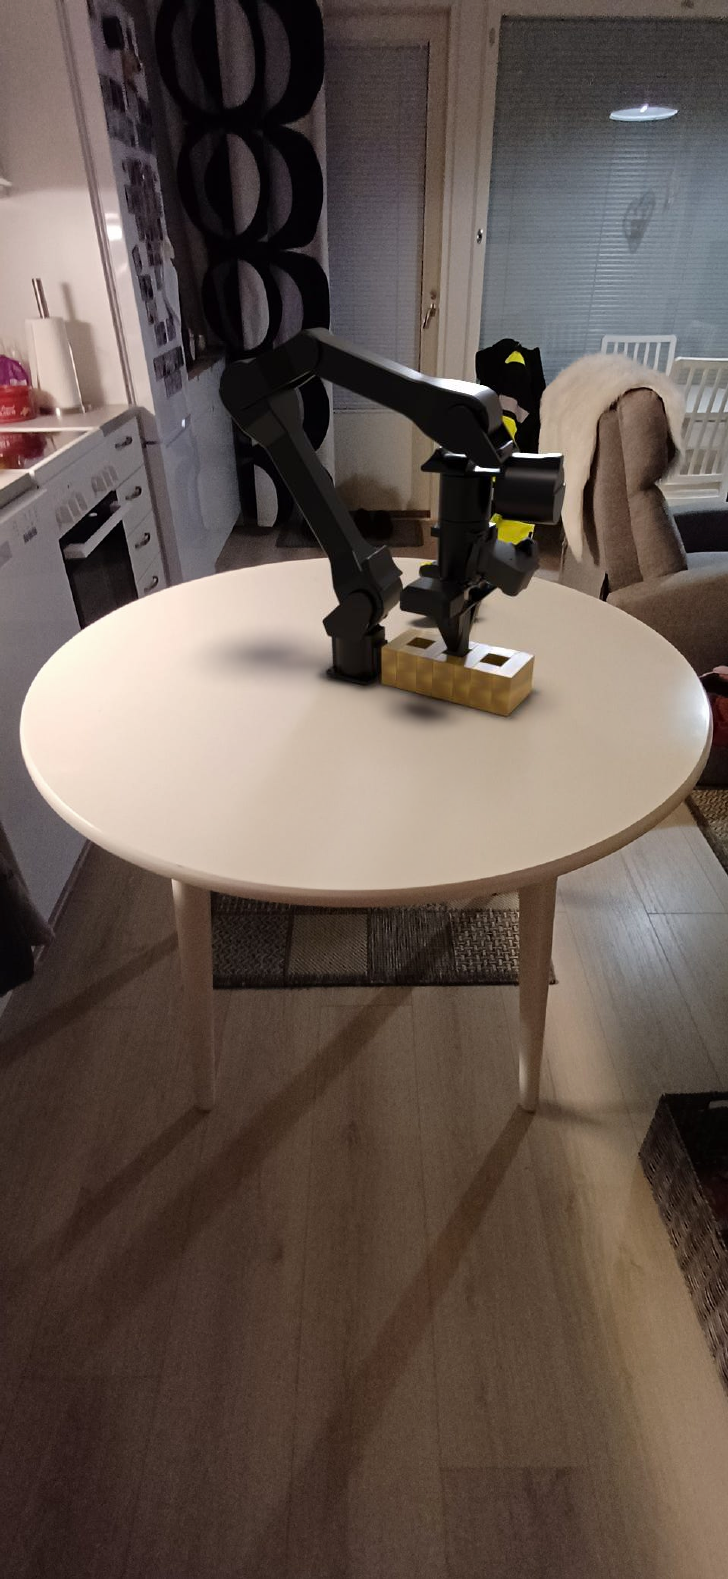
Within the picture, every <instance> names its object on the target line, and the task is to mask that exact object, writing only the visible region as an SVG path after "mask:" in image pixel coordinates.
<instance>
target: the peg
mask: <svg viewBox="0 0 728 1579" xmlns="http://www.w3.org/2000/svg"><path fill="white" fill-rule="evenodd" d="M471 598H472V595H468V600H471ZM470 614H471V608H470V609H469V610H468V611H466V613H465V616H464V622H463V627H462V633H461V638H460V643H459V647H458V651H457V652H451V651H449V650H448V649H447V655H452V656H456V657H460V658H463V657H464V656H465V655H467V654H468V647H469V641H470V635H469V631H470Z"/></svg>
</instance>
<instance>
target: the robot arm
mask: <svg viewBox="0 0 728 1579" xmlns="http://www.w3.org/2000/svg"><path fill="white" fill-rule="evenodd" d="M315 376H316V377H318V378H320V379H323V380H325V381H327V382H329V383H331V384H333V385H336V386H338V387H341V388H342V389H345V390H346V391H349V392H352V393H353V394H356V395H358V396H360V397H363V398H364V399H367V400H369V401H371V402H373V403H375V404H378V405H380V406H382V407H384V408H387V409H388V410H391V411H393V412H396V413H398V414H400V415H401V416H404V417H405V418H406V419H408V420H409V421H410V422H412V423H413V424H414V425H415V426H416V428H418V429H419V431H420V432H421V433H422V434H423V435H424V436H425V437H427V438H429V440H431V441H433V442H435V444H437V445H439V446H437V447H436V448H435V449H434V451H433V453H432V454H431V456H430V457H429V458H428V459H427V460H426V461H425V462H423V463H422V464H421V465H420V466H419V468H420V469H419V470H420V471H421V472H422V473H431V474H439V480H438V481H439V483H438V484H439V485H438V486H439V487H438V509H437V510H438V512H437V513H438V514H437V523H436V524H434V525H433V526H430V536H429V537H433V538H437V540H436V559H435V560H434V561H431V562H432V563H431V564H430V569H429V573H434V574H439V575H440V578H441V579H433V578H428V577H420V576H419V577H418V578H417V579H415V580H413V581H412V582H410V583H408V584H407V585H406V586H405V587H404V584H403V581H402V579H401V576H402V575H403V574H404V571H402V570H401V569H400V568H399V567H398V566H397V564H396V562H395V561H394V559H393V556H392V553H391V550H390V549H389V547H388V546H387V545H386V544H384V545H382V546H381V547H380V548H378V549H376V548H375V547H374V546H372V545H371V544H370V543H368V542H367V541H366V540H365V539H364V537H363V536H362V534H361V533H360V530H359V529H358V527H357V525H356V522H354V520H353V518H352V516H351V514H350V513H349V510H348V509H347V507H346V505H345V503H344V501H343V500H342V498H341V496H340V494H339V493H338V491H337V488H336V487H335V485H334V483H333V481H332V480H331V478H330V476H329V474H328V472H327V471H326V469H325V467H324V465H323V463H322V462H321V459H320V458H319V456H318V455H317V454H318V453H316V450H315V449H314V447H313V445H312V443H311V442H310V439H309V438H308V436H307V435H306V432H305V431H304V428H303V425H302V415H301V408H300V399H299V396H298V395H297V391H296V389H297V388H300V387H301V386H303V385H304V384H306V383H308V381H310V380H311V379H312V378H314V377H315ZM217 392H218V397H219V399H220V402H221V404H222V406H223V407H224V409H225V410H226V412H227V413H228V414H229V416H230V417H231V418H232V419H233V421H234V422H235V423H236V424H237V426H238V427H239V428H240V430H241V431H242V432H243V433H244V434H246V435H247V436H248V437H250V438H251V439H252V440H253V441H255V442H256V443H257V444H258V445H260V446H261V447H263V449H265V451H266V452H267V454H268V456H269V457H270V459H271V461H272V462H273V464H274V466H275V468H276V469H277V471H278V473H279V475H280V477H281V478H282V480H283V482H284V484H285V485H286V487H287V489H288V491H289V492H290V494H291V496H292V498H293V500H294V501H295V503H296V504H297V506H298V508H299V510H300V511H301V514H302V515H303V517H304V519H305V520H306V523H307V524H308V526H309V527H310V529H311V531H312V533H313V534H314V536H315V538H316V539H317V541H318V543H319V546H320V547H321V549H322V550H323V552H324V554H325V555H326V557H327V559H328V562H329V565H330V567H329V568H330V574H331V575H330V576H331V583H332V589H333V592H334V595H335V597H336V600H337V602H338V605H337V606H336V607H335V608H333V610H331V612H329V613H328V614H327V615H326V616H325V617H324V618H323V619H322V621H321V622H322V625H323V628H324V630H325V632H326V636H327V637H329V638H331V659H332V666H329V668H327V669H326V670H325V675H326V676H330V677H333V678H338V679H341V680H345V681H348V682H352V683H356V684H360V685H364V686H367V685H369V684H371V683H373V682H374V681H375V680H376V679H378V678H379V677H381V676H382V647H383V646H384V645H386V644H387V643H389V640H388V639H386V627H385V626H384V625H381V622H383V620H385V619H387V618H388V616H389V613H390V611H392V610H393V609H394V608H395V607H396V606H397V605H398V604H399V610H400V611H401V612H405V613H410V614H414V615H419V616H425V617H428V616H429V618H432V619H433V621H434V623H435V626H436V627H437V629H438V631H439V634H440V635H441V636H442V638H443V640H444V642H445V644H446V647H447V649H448V650H449V651H451V652H457V651H458V647H459V643H460V638H461V633H462V627H463V622H464V616H465V613H466V611H468V610H469V609H470V608H471V614H470V631H469V636H470V635H471V632H472V629H473V626H474V623H475V620H476V617H477V616H476V615H477V612H478V613H479V611H480V608H481V604H482V602H483V601H484V599H485V598H487V597H488V596H490V595H491V594H492V593H493V592H494V591H496V590H497V589H499V590H501V593H502V594H504V595H505V596H509V597H517V596H518V595H519V594H520V593H521V592H522V591H524V590H526V589H527V588H528V587H529V584H530V582H531V581H532V578H533V576H534V574H535V572H537V571H538V570H539V569H540V567H541V566H540V563H539V562H540V560H541V557H539V542H538V541H537V540H535V539H533V538H531V537H530V536H526V537H524V538H523V539H522V540H520V541H518V542H517V543H516V544H514V542H512V541H508V542H505V541H503V540H501V539H499V527H497V523H496V522H491V512H492V507H493V509H494V510H495V514H496V515H500V517H501V519H502V520H503V521H507V522H508V521H510V522H520V523H531V524H540V525H541V524H542V525H553V526H556V525H557V524H558V522H559V521H560V518H561V514H562V510H563V506H564V500H565V497H566V496H565V495H566V488H567V487H566V486H567V483H565V468H564V460H565V455H564V454H563V453H553V452H551V453H546V454H537V453H521V452H520V451H521V450H520V447H519V446H518V444H517V443H516V441H515V439H514V437H513V436H512V434H511V431H510V430H509V429H508V427H507V425H506V424H505V422H504V420H503V418H504V415H503V412H504V411H503V406H502V404H501V403H502V402H501V401H500V397H499V396H498V394H497V393H496V391H494V390H492V389H491V388H490V387H488V386H485V385H480V384H477V383H472V382H467V381H463V380H458V379H451V378H450V379H449V378H442V377H435V376H432V375H431V376H430V375H426V374H424V373H421V372H418V371H416V370H414V369H412V368H409V367H407V366H405V365H403V364H400V363H398V362H397V361H394V360H392V359H389V358H387V357H384V356H382V355H380V354H378V353H375V352H373V351H372V350H369V349H367V348H364V347H362V346H360V345H358V344H355V343H353V342H351V341H348V340H346V339H344V338H341V337H339V336H337V335H335V334H334V333H332V331H331V330H329V329H327V328H325V327H314V328H313V327H312V328H308V329H303V330H299V331H297V332H296V333H295V334H294V335H293V336H292V337H291V338H289V339H288V340H286V341H284V342H283V343H281V344H279V345H277V346H275V347H273V348H272V349H269V350H268V351H265V352H264V353H262V354H260V355H258V356H256V357H251V358H245V359H240V360H236V361H233V362H231V363H229V364H227V365H226V366H225V367H224V369H223V370H222V372H221V375H220V378H219V388H218V389H217ZM513 544H514V545H513ZM468 595H472V598H471V600H468Z"/></svg>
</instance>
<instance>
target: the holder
mask: <svg viewBox="0 0 728 1579" xmlns="http://www.w3.org/2000/svg"><path fill="white" fill-rule="evenodd" d="M535 657H536V656H535V654H531V653H526V652H523V651H517V650H514V649H509V648H504V647H499V646H495V645H490V644H485V643H480V642H476V641H471V640H469V647H468V654H467V655H465V656H464V657H463V658H460V657H456V656H452V655H447V647H446V644H445V642H444V640H443V638H442V636H441V634H440V633H435V632H430V631H426V630H421V629H416V628H412V627H409V628H408V629H406V630H404V631H403V632H402V633H401V634H399V635H398V636H396V637H395V638H393V639H391V640H390V641H388V643H387V644H386V645H384V646H383V647H382V675H381V684H382V685H385V686H390V687H393V688H397V689H400V690H404V691H408V692H413V693H416V694H420V695H424V696H427V697H432V698H435V699H439V700H443V701H446V702H450V703H455V704H458V705H462V706H467V707H470V708H474V709H477V710H481V711H485V712H488V713H492V714H497V715H499V716H504V717H508V716H510V714H511V713H512V712H513V711H515V709H516V708H517V707H518V706H519V705H520V704H521V703H522V702H523V701H524V700H525V699H526V698H527V697H528V696H529V695H530V694H531V692H532V685H533V675H534V664H535Z"/></svg>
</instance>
